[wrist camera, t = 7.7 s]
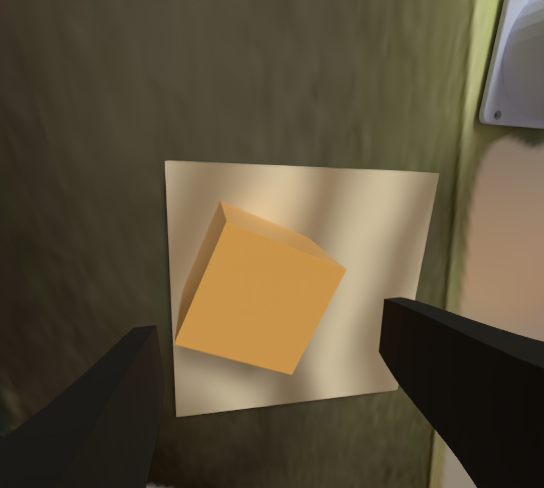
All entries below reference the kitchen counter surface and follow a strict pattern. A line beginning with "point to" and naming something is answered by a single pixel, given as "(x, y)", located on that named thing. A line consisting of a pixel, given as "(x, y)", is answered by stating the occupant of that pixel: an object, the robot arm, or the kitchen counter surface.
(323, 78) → the kitchen counter surface
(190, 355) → the board
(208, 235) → the tilted amber cube
